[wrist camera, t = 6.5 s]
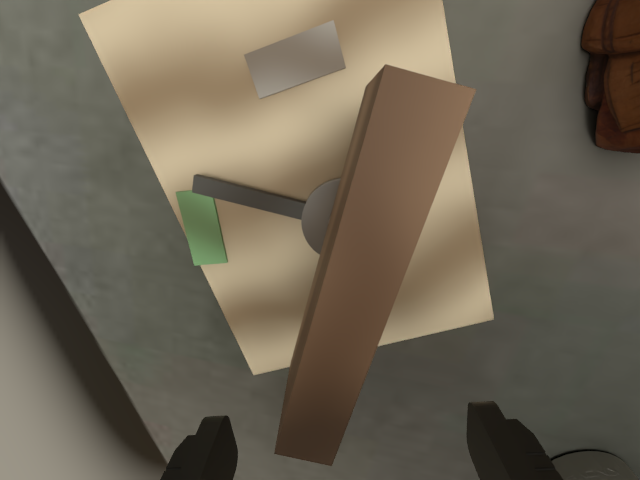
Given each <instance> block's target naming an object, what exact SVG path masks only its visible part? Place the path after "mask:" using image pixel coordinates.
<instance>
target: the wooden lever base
mask: <svg viewBox="0 0 640 480" xmlns="http://www.w3.org/2000/svg"><path fill="white" fill-rule="evenodd" d="M79 17H80V19H81V21H82V23H83V25H84V27H85V29H86V31H87V33H88V35H89V37H90V39H91V41H92V43H93V45H94V47H95V50H96V52H97V54H98V56H99V58H100V60H101V62H102V64H103V66H104V68H105V70H106V72H107V74H108V76H109V78H110V80H111V83H112V85H113V87H114V89H115V91H116V93H117V95H118V97H119V99H120V101H121V103H122V105H123V107H124V109H125V111H126V113H127V115H128V118H129V120H130V122H131V124H132V126H133V128H134V130H135V132H136V134H137V136H138V138H139V140H140V142H141V144H142V146H143V148H144V150H145V153H146V155H147V157H148V159H149V161H150V163H151V165H152V167H153V169H154V171H155V173H156V175H157V177H158V179H159V181H160V183H161V186H162V188H163V190H164V192H165V194H166V196H167V198H168V200H169V202H170V204H171V206H172V208H173V210H174V212H175V214H176V216H177V218H178V221H179V223H180V225H181V227H182V229H183V231H184V233H185V235H186V237H187V239H188V243H189V247H190V251H191V255H192V259H193V263H194V266H195V265H200V266H201V268H202V270H203V272H204V274H205V276H206V278H207V280H208V282H209V284H210V286H211V288H212V291H213V293H214V295H215V297H216V299H217V301H218V303H219V305H220V307H221V309H222V311H223V313H224V315H225V317H226V319H227V321H228V324H229V326H230V328H231V330H232V332H233V334H234V336H235V338H236V340H237V342H238V344H239V346H240V348H241V350H242V352H243V354H244V356H245V359H246V361H247V363H248V365H249V367H250V369H251V371H252V373H253V375H256V374H260V373H265V372H269V371H273V370H278V369H282V368H286V367H290V363H291V359H292V356H293V352H294V348H295V345H296V341H297V337H298V334H299V330H300V326H301V323H302V319H303V315H304V312H305V308H306V304H307V301H308V297H309V293H310V290H311V286H312V282H313V278H314V275H315V271H316V267H317V264H318V260H319V256H320V255H319V254H318V253H317V252H315V251H314V250H313V249H312V248H311V247H310V245H309V244H308V243H307V241H306V239H305V237H304V234H303V231H302V225H301V220H299V219H295V218H291V217H288V216H284V215H280V214H276V213H272V212H268V211H264V210H260V209H256V208H252V207H248V206H244V205H240V204H236V203H232V202H228V201H224V200H220V199H216V198H212V197H208V196H204V195H200V194H196V193H192V186H193V177H194V175H196V174H200V175H204V176H208V177H211V178H215V179H219V180H223V181H227V182H231V183H235V184H239V185H243V186H247V187H251V188H255V189H259V190H263V191H267V192H270V193H274V194H278V195H282V196H286V197H290V198H294V199H298V200H302V201H307V199H308V197H309V196H310V194H311V193H312V192H313V191H314V190H315V189H316V188H317V187H318V186H320V185H321V184H323V183H325V182H327V181H330V180H332V179H337V178H341V176H342V172H343V168H344V165H345V161H346V157H347V154H348V150H349V146H350V143H351V139H352V135H353V132H354V128H355V124H356V120H357V117H358V113H359V109H360V106H361V102H362V98H363V95H364V91H365V87H366V85H367V84H368V83H369V82H370V81H371V80H372V79H373V78H374V76H375V75H376V74H377V73H378V72H379V71H380V70H381V69H382V68H383V66H384V65H385V64H387V65H391V66H394V67H398V68H401V69H405V70H409V71H412V72H416V73H419V74H423V75H426V76H430V77H434V78H437V79H441V80H444V81H448V82H452V83H455V84H456V82H455V76H454V69H453V63H452V57H451V51H450V45H449V39H448V32H447V26H446V20H445V14H444V8H443V2H442V0H110V1H108V2H106V3H104V4H101V5H99V6H97V7H95V8H92V9H90V10H88V11H85V12H83V13H81V14H79ZM493 319H494V316H493V310H492V303H491V297H490V291H489V285H488V279H487V273H486V266H485V260H484V254H483V248H482V242H481V236H480V229H479V223H478V217H477V211H476V205H475V199H474V193H473V186H472V180H471V174H470V168H469V162H468V156H467V149H466V143H465V137H464V131H463V125H462V128H461V130H460V133H459V136H458V138H457V141H456V143H455V146H454V149H453V151H452V154H451V156H450V159H449V162H448V164H447V167H446V170H445V172H444V175H443V177H442V180H441V183H440V185H439V188H438V190H437V193H436V196H435V198H434V201H433V203H432V206H431V209H430V211H429V214H428V216H427V219H426V222H425V224H424V227H423V229H422V232H421V235H420V237H419V240H418V242H417V245H416V248H415V250H414V253H413V255H412V258H411V261H410V263H409V266H408V268H407V271H406V274H405V276H404V279H403V281H402V284H401V287H400V289H399V292H398V295H397V297H396V300H395V302H394V305H393V308H392V310H391V313H390V315H389V318H388V321H387V323H386V326H385V328H384V331H383V334H382V336H381V339H380V341H379V344H378V346H381V345H386V344H390V343H394V342H398V341H403V340H407V339H411V338H416V337H420V336H424V335H429V334H433V333H437V332H442V331H446V330H450V329H455V328H459V327H463V326H467V325H472V324H476V323H480V322H485V321H489V320H493Z"/></svg>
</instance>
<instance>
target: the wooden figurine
mask: <svg viewBox="0 0 640 480" xmlns="http://www.w3.org/2000/svg"><path fill="white" fill-rule="evenodd" d="M581 44H582V48H583V49H584V50H586V51H588V52H590V55H591V56H590V64H589V67H588V70H587V74H586V81H587V85H586V90H585V101H586V104H587V106H588V107H590V108H592V109H594V110H598V111H599V113H598V116H597V127H596V132H595V137H596V146H598V147H601V148H604V149H607V150H611V151H621V152H631V153H640V0H597V1H596V3H595V4H594V6H593V8H592V10H591V12H590V14H589V17H588V19H587V21H586V24H585V26H584V30H583V35H582V43H581Z"/></svg>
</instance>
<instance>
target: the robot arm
mask: <svg viewBox="0 0 640 480" xmlns="http://www.w3.org/2000/svg"><path fill="white" fill-rule="evenodd" d="M467 444H468V449H469V453H470V456H471V459H472V461H473V464H474V466H475V468H476V471H477V473H478V476H479V478H480V480H639V478H638V477H637V476H636V475H635V474H634V473H633V471H632V470H631V469H630V468H629V467H628V466H627V464H626V463H625V462H624V461H622V460H621V459H620V458H618V457H616V456H614V455H611V454H609V453H604V452H599V451H583V452H575V453H571V454H567V455H564V456H561V457H559V458H556V459H554V460H553V461H551V460H550V458H549V457H548V455H546V454H545V451H544V449H543V448H542V446H541V445H540V443H539V441H538V440H537V438H536V437H535V435H534V434H533V433H532V432H531V431H530V430H529V429H527V428H526V427H525V426H524V425H523V424H522V423H521V422H519V421H518V420H517V419H507V420H506V419H505V417H504V415H503V414H502V412H501V410H500V409H499V407H498V405H497V404H496V403H495V402H494V401H486V402H470V403H469V404H468V415H467ZM237 459H238V450H237V445H236V441H235V437H234V434H233V430H232V427H231V423H230V420H229V417H228V416H211V417H205V418H204V419H203V420H202V422H201V424H200V426H199V428H198V431H197V433H196V435H188V436H187V437H186V438H185V439H184V441H183V442H182V443H181V444H180V445H179V446H178V447H177V449H176V450H175V451H174V453H173V455H172V457H171V459H170V461H169V463H168V465H167V467H166V471H164V473H163V476H162V477H161V479H160V480H233V477H234V474H235V470H236V466H237Z"/></svg>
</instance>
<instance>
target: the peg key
mask: <svg viewBox="0 0 640 480" xmlns="http://www.w3.org/2000/svg"><path fill="white" fill-rule="evenodd" d="M475 91H476V89H473V88H470V87H466V86H462V85H459V84H455V83H452V82H448V81H444V80H441V79H437V78H434V77H430V76H426V75H423V74H419V73H416V72H412V71H409V70H405V69H401V68H398V67H394V66H391V65H387V64H385V65H384V66H383V68H382V69H381V70H380V71H379V72H378V73H377V74H376V75H375V76H374V78H373V79H372V80H371V81H370V82H369V83H368V84H367V85H366V87H365V91H364V95H363V98H362V102H361V106H360V109H359V113H358V117H357V120H356V124H355V128H354V132H353V135H352V139H351V143H350V146H349V150H348V154H347V157H346V161H345V165H344V168H343V172H342V176H341V178H337V179H332V180H330V181H327V182H325V183H323V184H321V185H320V186H318V187H317V188H316V189H315V190H314V191H313V192H312V193H311V194H310V196H309V197H308V199H307V201H302V200H298V199H294V198H290V197H286V196H282V195H278V194H274V193H270V192H267V191H263V190H259V189H255V188H251V187H247V186H243V185H239V184H235V183H231V182H227V181H223V180H219V179H215V178H211V177H208V176H204V175H200V174H196V175H194V177H193V186H192V193H196V194H200V195H204V196H208V197H212V198H216V199H220V200H224V201H228V202H232V203H236V204H240V205H244V206H248V207H252V208H256V209H260V210H264V211H268V212H272V213H276V214H280V215H284V216H288V217H291V218H295V219H299V220H301V225H302V231H303V234H304V237H305V239H306V241H307V243H308V244H309V245H310V247H311V248H312V249H313V250H314V251H315V252H317V253H318V254H319V255H320V256H319V260H318V264H317V267H316V271H315V275H314V278H313V282H312V286H311V290H310V293H309V297H308V301H307V304H306V308H305V312H304V315H303V319H302V323H301V326H300V330H299V334H298V337H297V341H296V345H295V348H294V352H293V356H292V359H291V363H290V369H289V375H288V380H287V386H286V391H285V397H284V402H283V408H282V414H281V419H280V425H279V430H278V436H277V441H276V447H275V453H274V454H278V455H283V456H287V457H292V458H297V459H301V460H306V461H311V462H315V463H320V464H324V465H329V466H332V464H333V461H334V459H335V456H336V453H337V451H338V448H339V446H340V443H341V440H342V438H343V435H344V433H345V430H346V427H347V425H348V422H349V420H350V417H351V414H352V412H353V409H354V407H355V404H356V401H357V399H358V396H359V393H360V391H361V388H362V386H363V383H364V380H365V378H366V375H367V373H368V370H369V367H370V365H371V362H372V360H373V357H374V354H375V352H376V349H377V347H378V344H379V341H380V339H381V336H382V334H383V331H384V328H385V326H386V323H387V321H388V318H389V315H390V313H391V310H392V308H393V305H394V302H395V300H396V297H397V295H398V292H399V289H400V287H401V284H402V281H403V279H404V276H405V274H406V271H407V268H408V266H409V263H410V261H411V258H412V255H413V253H414V250H415V248H416V245H417V242H418V240H419V237H420V235H421V232H422V229H423V227H424V224H425V222H426V219H427V216H428V214H429V211H430V209H431V206H432V203H433V201H434V198H435V196H436V193H437V190H438V188H439V185H440V183H441V180H442V177H443V175H444V172H445V170H446V167H447V164H448V162H449V159H450V156H451V154H452V151H453V149H454V146H455V143H456V141H457V138H458V136H459V133H460V130H461V128H462V125H463V123H464V120H465V117H466V115H467V112H468V110H469V107H470V104H471V102H472V99H473V97H474V94H475Z"/></svg>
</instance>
